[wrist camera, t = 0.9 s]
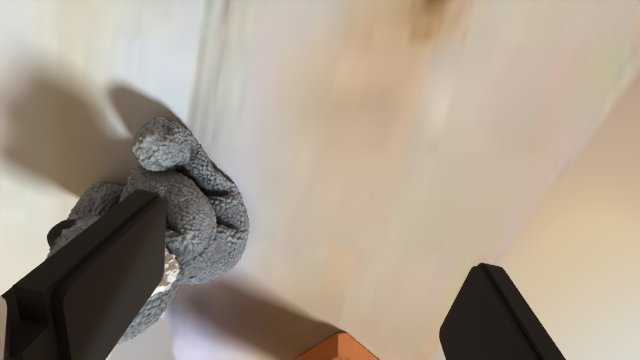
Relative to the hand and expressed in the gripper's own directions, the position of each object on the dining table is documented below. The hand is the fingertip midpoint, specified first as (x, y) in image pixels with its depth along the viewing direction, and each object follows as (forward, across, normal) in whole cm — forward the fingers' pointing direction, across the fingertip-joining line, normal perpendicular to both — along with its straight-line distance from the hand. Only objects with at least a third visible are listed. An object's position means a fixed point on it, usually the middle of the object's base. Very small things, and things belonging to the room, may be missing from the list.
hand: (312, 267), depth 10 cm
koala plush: (+26, +14, +16) cm, 34 cm away
